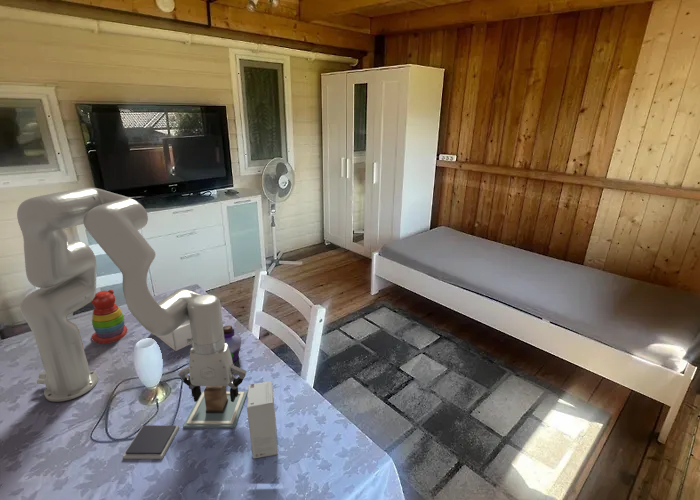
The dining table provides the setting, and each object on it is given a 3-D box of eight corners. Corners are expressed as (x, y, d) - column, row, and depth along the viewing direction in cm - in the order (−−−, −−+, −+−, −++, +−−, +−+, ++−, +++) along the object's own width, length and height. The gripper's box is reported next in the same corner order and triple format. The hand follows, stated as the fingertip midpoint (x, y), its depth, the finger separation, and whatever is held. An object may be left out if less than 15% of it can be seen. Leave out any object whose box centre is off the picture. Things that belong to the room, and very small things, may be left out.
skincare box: (277, 455, 86) (274, 404, 81) (251, 460, 85) (246, 408, 80) (276, 427, 94) (273, 379, 89) (252, 431, 93) (247, 382, 88)
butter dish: (197, 316, 147) (192, 279, 141) (222, 332, 136) (218, 293, 131) (151, 334, 134) (144, 295, 128) (176, 353, 123) (169, 311, 118)
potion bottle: (221, 371, 115) (217, 338, 111) (212, 357, 121) (208, 325, 117) (248, 361, 119) (245, 329, 115) (238, 348, 126) (235, 317, 122)
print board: (183, 428, 93) (182, 425, 93) (202, 392, 106) (201, 389, 105) (234, 428, 93) (234, 425, 93) (247, 392, 106) (247, 390, 105)
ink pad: (123, 458, 85) (122, 454, 84) (143, 427, 93) (142, 423, 93) (162, 458, 85) (161, 454, 84) (179, 428, 93) (178, 424, 93)
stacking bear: (124, 325, 139) (115, 282, 133) (133, 336, 132) (123, 291, 126) (90, 337, 131) (79, 291, 125) (98, 348, 125) (86, 301, 119)
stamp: (206, 413, 97) (202, 391, 95) (211, 401, 101) (209, 380, 99) (223, 413, 97) (220, 391, 95) (228, 401, 102) (225, 380, 99)
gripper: (167, 351, 89) (177, 408, 95) (239, 352, 89) (244, 408, 95) (180, 334, 96) (189, 388, 102) (247, 335, 96) (251, 388, 102)
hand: (215, 398), depth 98 cm, fingers open, 9 cm apart
